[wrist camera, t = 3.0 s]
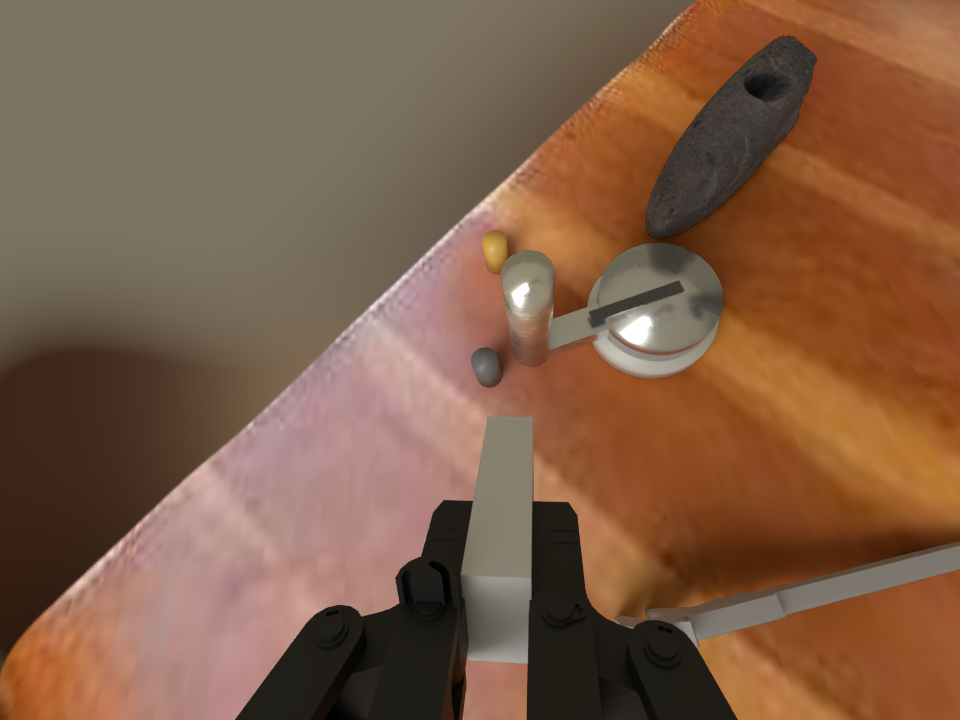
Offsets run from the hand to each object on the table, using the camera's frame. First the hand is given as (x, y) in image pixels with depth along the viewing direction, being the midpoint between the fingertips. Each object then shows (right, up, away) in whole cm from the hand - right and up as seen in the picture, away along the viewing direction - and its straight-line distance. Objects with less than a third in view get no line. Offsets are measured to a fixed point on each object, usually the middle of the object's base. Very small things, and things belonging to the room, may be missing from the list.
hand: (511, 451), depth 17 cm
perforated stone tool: (+15, +16, +19) cm, 29 cm away
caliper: (+16, -9, +10) cm, 21 cm away
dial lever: (+7, +5, +14) cm, 17 cm away
